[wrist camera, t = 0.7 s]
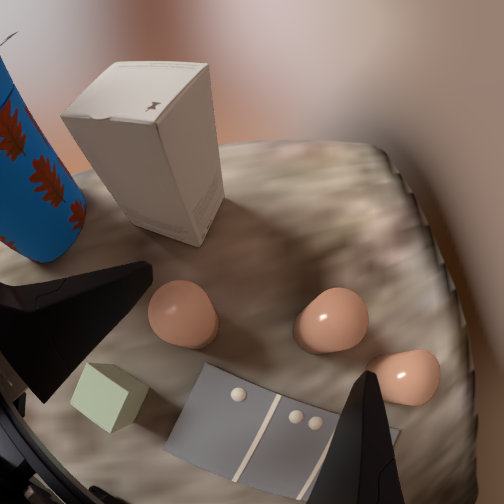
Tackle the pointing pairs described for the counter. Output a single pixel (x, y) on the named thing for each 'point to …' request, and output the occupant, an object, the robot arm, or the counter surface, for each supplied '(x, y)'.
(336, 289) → the salmon pink egg
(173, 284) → the glossy pink ovoid
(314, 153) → the counter surface
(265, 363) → the counter surface
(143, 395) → the pale green block
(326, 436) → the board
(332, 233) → the counter surface
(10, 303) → the robot arm
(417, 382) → the peach colored egg
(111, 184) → the skincare box
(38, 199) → the thermos
